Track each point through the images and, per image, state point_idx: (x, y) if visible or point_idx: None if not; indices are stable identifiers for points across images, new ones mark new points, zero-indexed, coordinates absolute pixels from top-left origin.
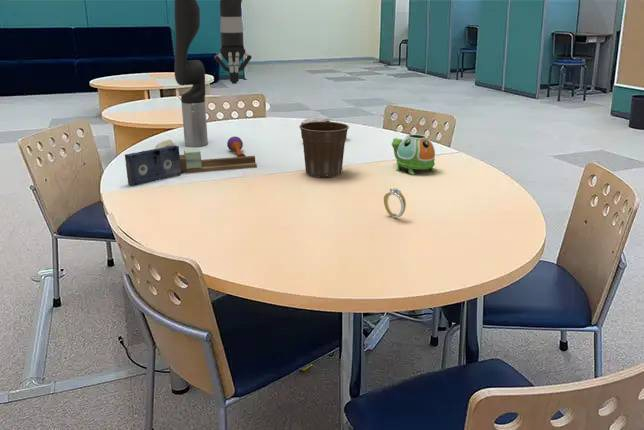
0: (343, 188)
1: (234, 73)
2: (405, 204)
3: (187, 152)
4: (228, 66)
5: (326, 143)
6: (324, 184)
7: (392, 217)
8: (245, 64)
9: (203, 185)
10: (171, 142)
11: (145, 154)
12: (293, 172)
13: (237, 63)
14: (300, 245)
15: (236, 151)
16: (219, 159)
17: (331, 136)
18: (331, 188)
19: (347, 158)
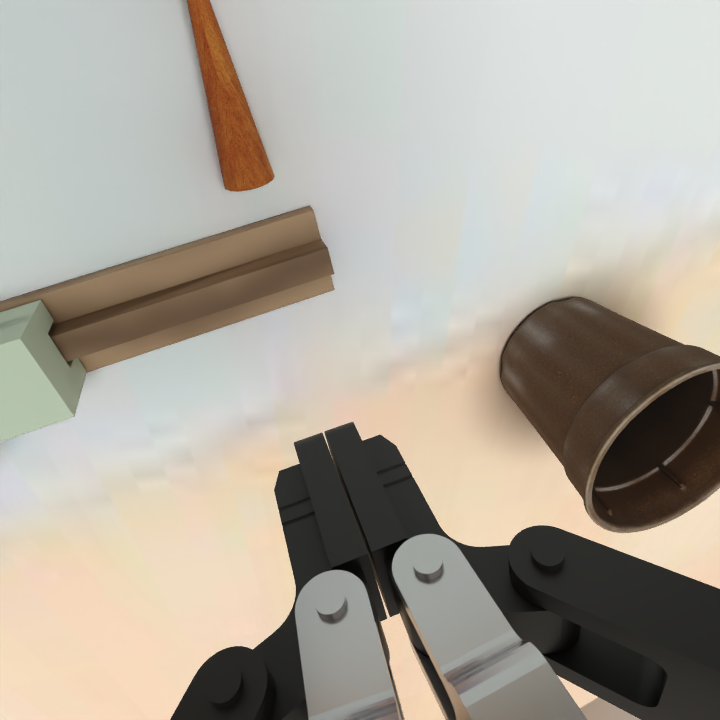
0: (555, 476)
1: (388, 607)
2: None
3: (3, 437)
4: (308, 705)
5: (618, 484)
6: (522, 454)
7: None
8: (661, 677)
9: (162, 509)
10: None
11: None
12: (462, 348)
13: None
14: (413, 706)
15: (201, 66)
16: (160, 324)
17: (651, 502)
18: (529, 480)
19: (703, 139)
